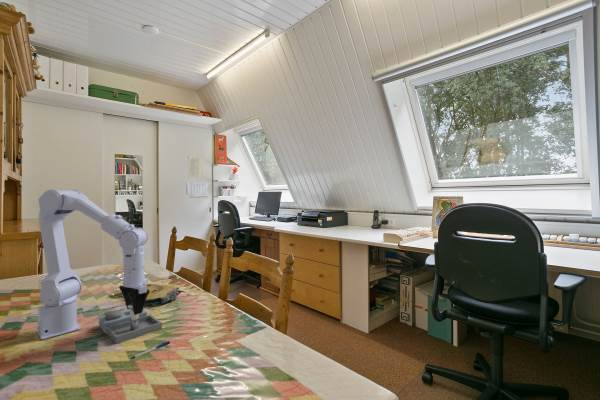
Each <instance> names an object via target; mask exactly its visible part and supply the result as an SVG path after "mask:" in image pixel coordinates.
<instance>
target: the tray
mask: <svg viewBox="0 0 600 400" xmlns="http://www.w3.org/2000/svg"><path fill="white" fill-rule="evenodd" d="M162 329H163V322H162V321H161V320H159V319H158V318H156V317H155V316H154V315H152V314H148V315H147V316H144V317H141V318H139V329H137V330H134V331H130V321H127V322H123V323H120V324H116V325H113V326H109V327H106V333H105V334H106V335H107V336H108V337H109V338H110V339H111V341H112V342H114V344H116V345H117V344H120V343H122V342H126V341H129V340H132V339H135V338H138V337H141V336H144V335H147V334H150V333H154V332H156V331H159V330H162Z"/></svg>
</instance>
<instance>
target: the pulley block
mask: <svg viewBox="0 0 600 400" xmlns="http://www.w3.org/2000/svg"><path fill="white" fill-rule="evenodd" d="M145 285H146V286H147V289H148V290H150V292H149V294H148V296H147V298H146V300H145V303H144V307H156V306H157V307H159V306H161V305H163V304H165V303H167V302H168V301H169V302H170V301H172V300H174V299H176V297H177V296H178V295H180V294H181V293H184V294H186V291H183V290H180V287H174V286H173V285H169V284H153V283H145ZM120 287H124V286H123V284H122V285H118V288H120Z"/></svg>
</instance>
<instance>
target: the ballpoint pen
mask: <svg viewBox="0 0 600 400" xmlns="http://www.w3.org/2000/svg"><path fill="white" fill-rule="evenodd" d="M170 344H171V342H170V340H168V341H164V342H162V343H160V344H158V345H157V346H155V347H153V348H150V349H147V350H145V351H143V352H140V353H138V354H135V355H133V356H132V357H131V358H130V359H131V360H133V359H136V358H138V357H141V356H143V355H145V354H148V353H151V352H152V351H155V350H157V349H160V348H162V347H163V348H164V347H165V346H167V345H170Z"/></svg>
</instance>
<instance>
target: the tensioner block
mask: <svg viewBox="0 0 600 400" xmlns="http://www.w3.org/2000/svg"><path fill="white" fill-rule="evenodd" d="M147 314H148V312H147V311H146V310H144V309H143V311H142V313H140V314H139V318H141V317H144V316H148V315H147ZM127 321H130V309H125V310H119V309H116V310H115V309H114V310H110V311H107V312H105V314H104V315H103V316H99V317H98V323H99V324H98V325H99V328H100V329H101V330H102V331H103V332H104V333H105V334H106V327H109V326H113V325H116V324H120V323H123V322H127Z"/></svg>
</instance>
